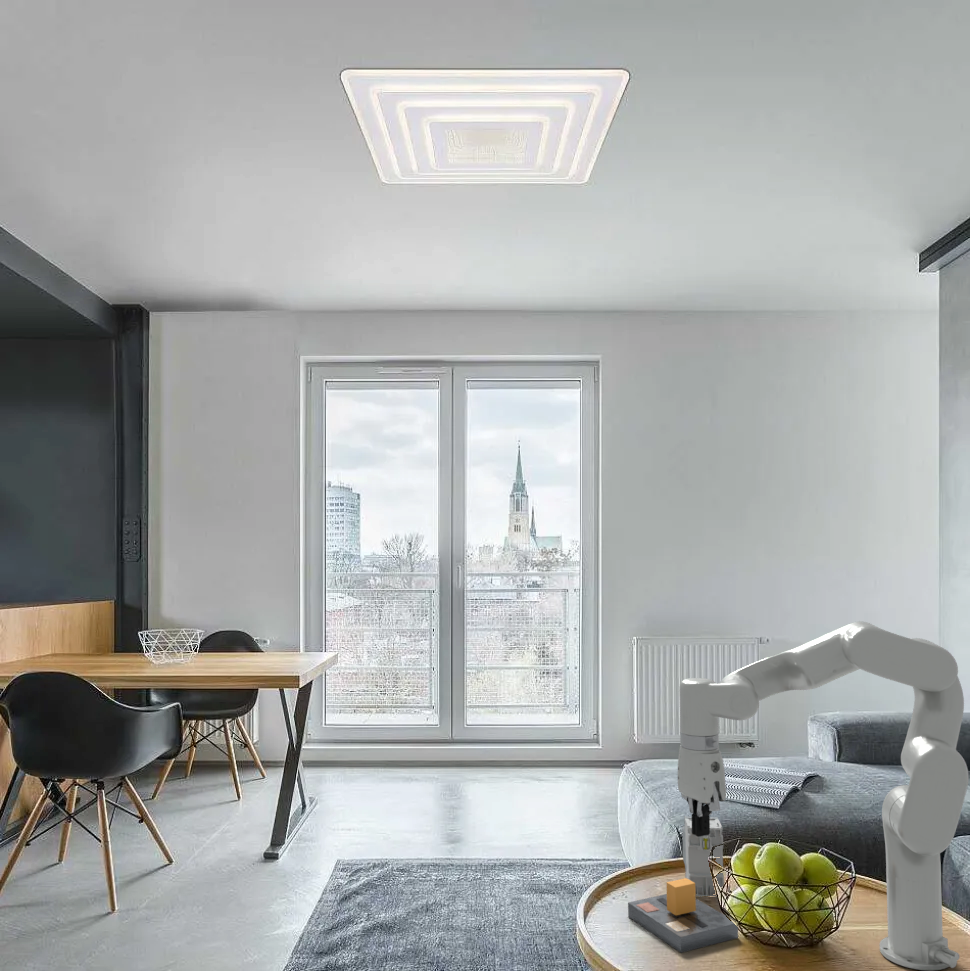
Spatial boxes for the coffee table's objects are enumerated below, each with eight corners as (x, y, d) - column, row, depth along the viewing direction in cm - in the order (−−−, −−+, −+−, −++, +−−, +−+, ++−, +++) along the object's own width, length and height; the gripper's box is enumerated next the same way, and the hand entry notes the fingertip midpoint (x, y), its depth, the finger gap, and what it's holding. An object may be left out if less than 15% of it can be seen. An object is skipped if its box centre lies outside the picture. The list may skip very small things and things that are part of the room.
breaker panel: (738, 937, 185) (737, 922, 185) (681, 952, 179) (680, 936, 179) (682, 904, 201) (682, 889, 202) (628, 916, 195) (628, 902, 196)
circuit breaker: (714, 872, 219) (713, 808, 220) (724, 897, 205) (722, 828, 206) (682, 871, 220) (681, 807, 220) (689, 896, 206) (688, 827, 206)
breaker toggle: (695, 910, 190) (695, 883, 190) (675, 915, 188) (675, 887, 188) (686, 905, 193) (686, 878, 193) (666, 909, 191) (666, 882, 191)
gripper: (739, 747, 180) (741, 843, 180) (691, 731, 194) (692, 820, 193) (708, 752, 177) (710, 849, 176) (661, 735, 191) (662, 826, 190)
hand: (700, 834), depth 185 cm, fingers closed
